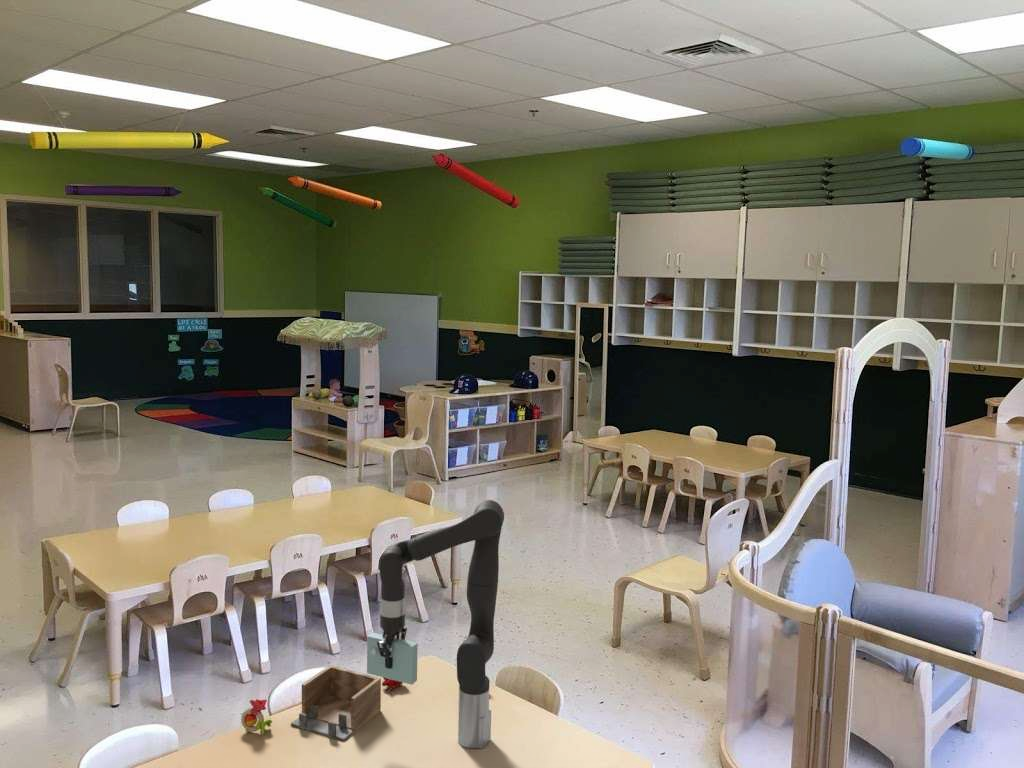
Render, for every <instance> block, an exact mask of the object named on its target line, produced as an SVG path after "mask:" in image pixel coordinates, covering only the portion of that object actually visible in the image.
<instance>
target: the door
mask: <svg viewBox="0 0 1024 768" xmlns="http://www.w3.org/2000/svg"><path fill="white" fill-rule="evenodd" d="M366 639H367V640H366V674H367V675H371V676H375V677H379V678H383V677H384V678H388V679H391V680H395V681H399V682H403V683H402V684H406V685H412V686H413V685H414V684H415V683H416V682H417V681H418V649H419V648H418V647H419V646H418V642H414V641H411V640H406V639H405V640H403V639H397V640H396V642H395V643H394V650H393V656H392V657H393V667H392V668H391V669H388V668H386V667H385V657H382V656H381V655H380V652H379V649H378V645H377V642H378V641H381V640H382V639H383V634H380V633H376V632H371V633H370V634H368V635H367V636H366ZM387 646H390V645H387ZM391 647H392V646H391ZM388 651H389V653H390V650H389V649H388Z"/></svg>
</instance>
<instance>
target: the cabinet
mask: <svg viewBox="0 0 1024 768" xmlns="http://www.w3.org/2000/svg"><path fill="white" fill-rule="evenodd" d="M381 692H382V677H379V676H375V675H371V674H367V673H361V672H358V671H354V670H351V669H347V668H343V667H339V666H334V665H327V667H325V668H324V669H322V670H320V671H319V672H318V673H316V674H315V675H313V676H311V677H310V678H309V679H308V680H306V681H304V682H303V683H302V684H301V712H299V713H298V717H297V718H296V719H294V720H293V721H292V722H290V726H291V725H292V726H291V727H294V726H296V727H295V728H297V727H299V728H298V729H301V728H302V730H304V729H306V730H305V731H307V730H308V731H307V732H311V731H312V733H314V732H315V733H314V734H318V735H321V734H322V736H325V737H329V738H332V739H335V740H339V741H341V742H345V741H346V740H348V739H349V737H351V736H353V734H355V733H356V732H357V731H358V730H359V729H360V728H362V727H363V726H365V724H367V721H368V720H369V721H370V720H371V719H372V718H373V716H374V715H375V716H376V715H377V714H378V713H380V712H381V711H380V710H381V708H382V700H381V699H382V693H381ZM379 711H380V712H379ZM375 716H374V717H375ZM369 721H368V722H369ZM361 726H362V727H361Z"/></svg>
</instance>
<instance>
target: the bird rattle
mask: <svg viewBox="0 0 1024 768" xmlns="http://www.w3.org/2000/svg"><path fill="white" fill-rule="evenodd" d="M249 703H250V705H251V706H252V707H249V708H246V709H245V710H244V711H243V712H242V714H241V716H240V717H241V718H240V722H241V724H242V727H243V728H244V729H245V733H250V732H252V733H253V732H257V731H259V730H260V731H259V732H260V736H262V737H263V736H264V734H265V730H266V729H265V727H266V726H267V727H269V728H270V727H272V723H273V720H271V719H267V720H265V717H264V714H263V712H262V711H265V710H266V709H267V707H266V705H267V699H255V700H254V699H250V700H249Z"/></svg>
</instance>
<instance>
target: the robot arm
mask: <svg viewBox="0 0 1024 768" xmlns="http://www.w3.org/2000/svg"><path fill="white" fill-rule="evenodd" d="M504 521H505V512H504V509H503V507H502V506H501V504H499V503H498V502H497V501H495V500H492V499H487V500H484V501H481V502H480V503H479V504H478V505H477V506H476V507H475V509H474V511H473V514H472V515H470V516H468V517H467V518H465V519H463V520H462V521H459V522H457V523H455V524H452V525H448V526H445V527H441V528H440V527H439V528H435V529H432V530H429V531H427V532H423V533H422V534H420V535H417V536H415V537H413V538H410V539H406V540H402V541H398V542H395V543H393V544H391V545H389V546H388V547H386V549H385V550H384V551H383V553H382V554H381V556H380V558H379V561H378V563H379V565H378V568H379V571H378V572H379V576H380V583H381V584H380V588H381V589H380V604H379V626H380V628H381V630H382V631H383V632H382V635H383V639H382V640H381V641H378V642H377V645H378V649H379V652H380V655H381V656H382V657H385V667H386V668H388V669H391V668H392V667H393V657H392V656H393V650H394V643H395V642H396V640H397V639H403V640H406V636H407V631H408V628H407V627H405V626H406V601H405V600H406V599H405V597H406V596H405V590H406V588H405V587H406V586H405V580H404V579H403V566H404V565H406V564H407V563H410V562H413V561H418V562H419V561H422V560H425V559H427V558H430V557H432V556H435V555H437V554H439V553H441V552H444V551H447V550H448V549H452V548H454V547H456V546H460V545H462V544H466V543H470V542H473V541H474V544H473V545H474V546H473V552H472V555H471V559H470V563H469V567H468V568H469V569H468V573H467V580H466V581H467V582H466V600H467V604H468V607H469V611H470V625H469V626H470V627H469V632H468V636H467V638H466V639H465V640H464V641H463V642H462V643H461V644H460V645H459V647H458V649H457V652H456V679H457V682H458V723H457V724H458V727H457V729H458V733H457V736H458V737H457V740H458V742H457V743H458V744H459V745H460V746H462V747H464V748H467V749H484V747H485V746H487V744H488V743H489V741H491V739H492V738H491V737H492V710H490V678H489V677H488V676H487V675H486V665H487V663H488V662H489V660H491V658H492V657H493V655H494V649H495V637H494V636H495V635H494V633H495V630H494V629H495V628H494V623H495V621H494V620H495V613H496V603H497V595H498V588H499V587H498V586H499V570H500V569H499V567H500V566H499V559H500V558H499V556H500V555H499V547H500V546H499V545H500V540H501V539H500V538H501V533H502V527H503V524H504ZM387 645H390V646H387ZM391 646H392V647H391ZM388 649H389V650H390V653H389V651H388Z"/></svg>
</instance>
